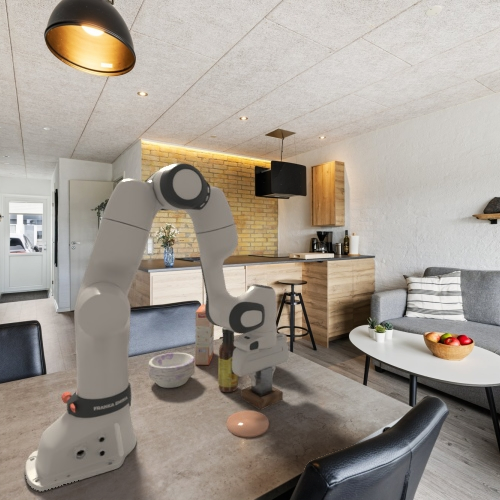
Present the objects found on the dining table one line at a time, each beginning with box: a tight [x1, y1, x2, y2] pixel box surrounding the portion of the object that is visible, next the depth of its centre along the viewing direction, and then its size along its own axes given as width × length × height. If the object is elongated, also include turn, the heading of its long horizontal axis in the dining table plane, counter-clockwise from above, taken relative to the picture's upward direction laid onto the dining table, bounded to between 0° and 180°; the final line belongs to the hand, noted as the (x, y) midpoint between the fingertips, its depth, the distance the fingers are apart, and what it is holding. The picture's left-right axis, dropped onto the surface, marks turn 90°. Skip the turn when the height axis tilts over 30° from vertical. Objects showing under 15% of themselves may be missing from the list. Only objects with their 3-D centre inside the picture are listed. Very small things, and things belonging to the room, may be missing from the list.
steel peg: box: [250, 367, 273, 397], centre depth 101 cm, size 4×4×10 cm
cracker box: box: [194, 304, 215, 366], centre depth 133 cm, size 14×6×21 cm, turn 179°
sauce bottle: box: [217, 327, 239, 393], centre depth 107 cm, size 6×6×20 cm
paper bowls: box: [148, 352, 196, 389], centre depth 112 cm, size 15×15×8 cm
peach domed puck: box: [226, 410, 270, 438], centre depth 87 cm, size 11×11×1 cm
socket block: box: [240, 385, 284, 411], centre depth 101 cm, size 9×9×2 cm
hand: (261, 382), depth 101 cm, fingers closed on steel peg, 4 cm apart
